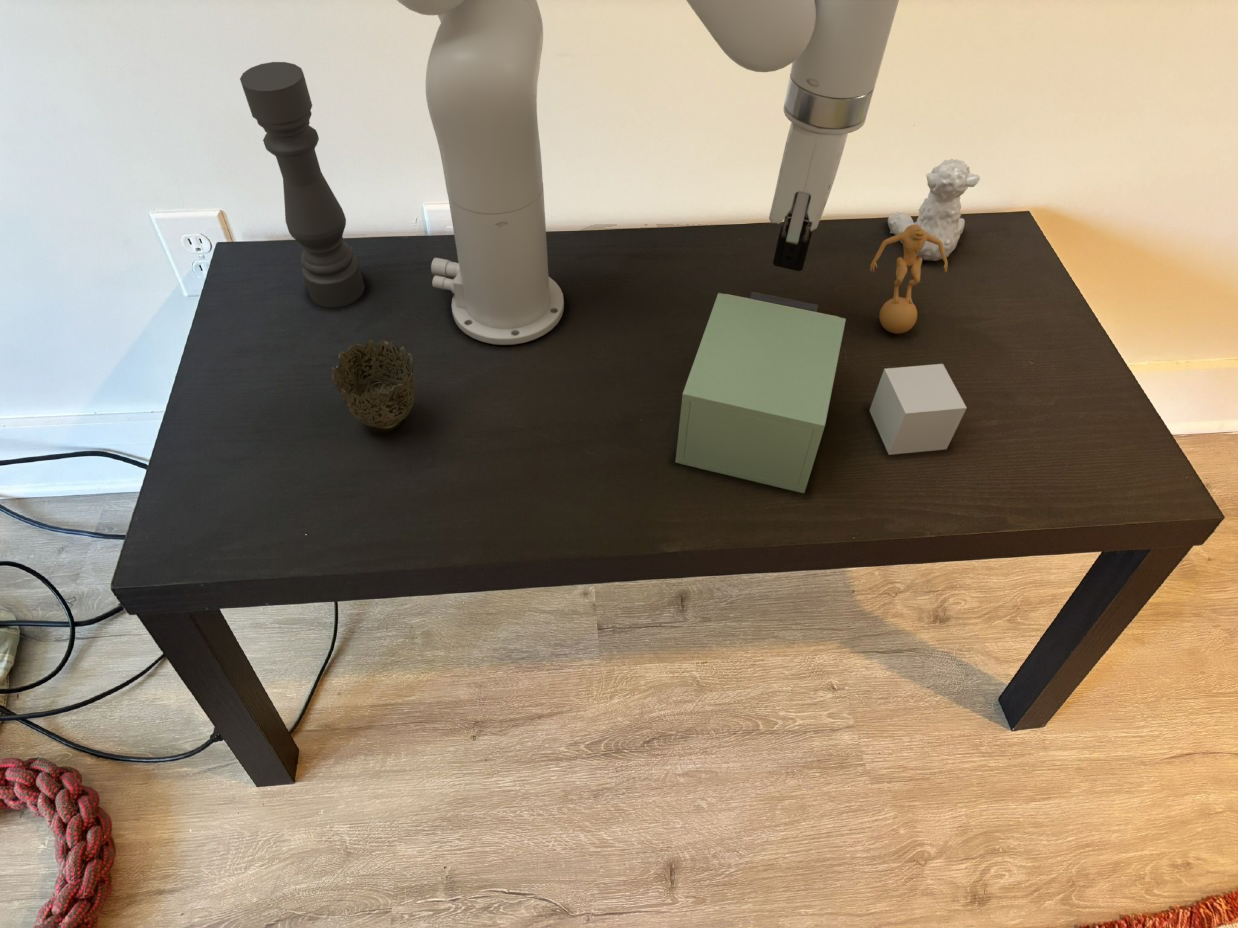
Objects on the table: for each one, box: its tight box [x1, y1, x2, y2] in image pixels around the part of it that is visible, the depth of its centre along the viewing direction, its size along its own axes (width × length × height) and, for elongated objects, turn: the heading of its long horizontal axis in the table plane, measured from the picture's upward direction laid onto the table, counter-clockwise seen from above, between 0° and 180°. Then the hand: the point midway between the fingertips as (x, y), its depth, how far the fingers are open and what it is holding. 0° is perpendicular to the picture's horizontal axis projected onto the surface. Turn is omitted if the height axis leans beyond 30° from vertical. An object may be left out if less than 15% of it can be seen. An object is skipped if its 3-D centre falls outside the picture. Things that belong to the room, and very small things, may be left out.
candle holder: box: [239, 61, 366, 308], centre depth 88 cm, size 6×6×25 cm
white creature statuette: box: [887, 158, 981, 262], centre depth 100 cm, size 10×9×12 cm
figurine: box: [869, 225, 949, 335], centre depth 91 cm, size 8×6×12 cm
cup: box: [330, 339, 416, 435], centre depth 82 cm, size 8×7×8 cm
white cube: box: [869, 363, 967, 456], centre depth 83 cm, size 6×6×6 cm
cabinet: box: [675, 292, 847, 494], centre depth 82 cm, size 15×13×10 cm
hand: (788, 264), depth 91 cm, fingers closed
